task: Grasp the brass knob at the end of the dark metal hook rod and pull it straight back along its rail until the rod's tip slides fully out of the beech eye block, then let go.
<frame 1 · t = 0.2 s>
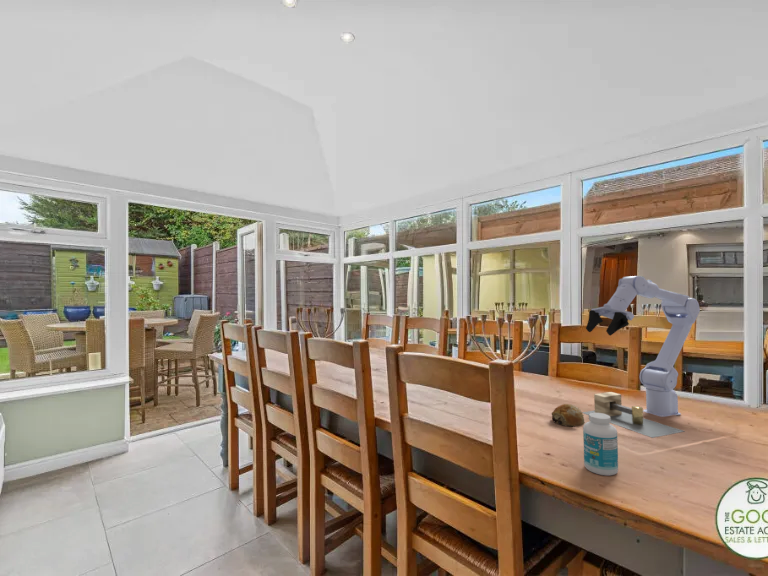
hand: (597, 331, 127), 31 cm above the table, tool tilted 45°, fingers open, 7 cm apart
bread roll: (568, 423, 129), on the table
pill bottle: (601, 470, 95), on the table
hook rod: (618, 409, 131), point 3 cm above the table, slide at 0.0 cm
eye block: (608, 414, 135), resting on base board
base board: (629, 422, 127), on the table
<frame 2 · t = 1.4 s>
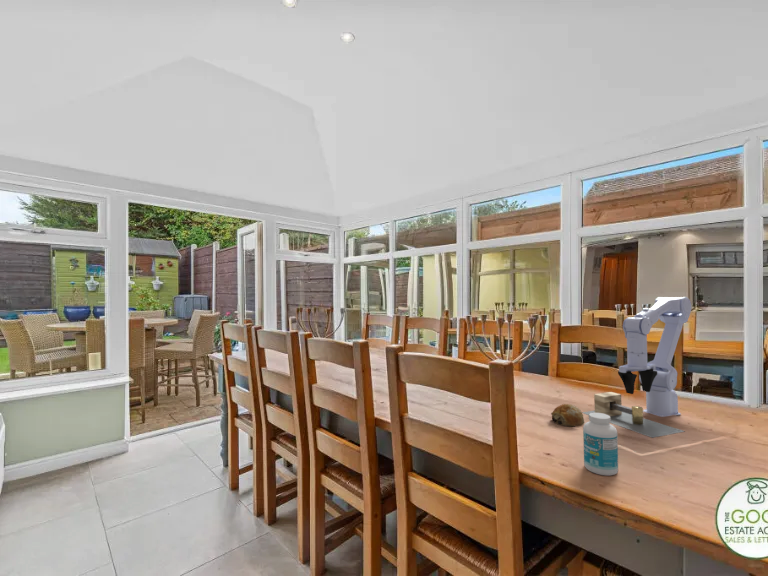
hand: (638, 392, 130), 9 cm above the table, tool pointing down, fingers open, 7 cm apart
nothing on the table moved.
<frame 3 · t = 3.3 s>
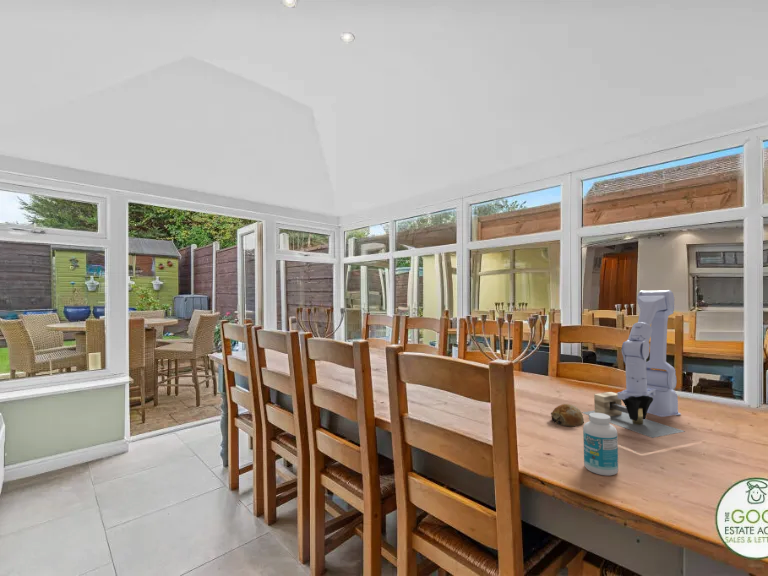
hand: (637, 419, 124), 2 cm above the table, tool pointing down, fingers closed on hook rod, 3 cm apart
hook rod: (618, 409, 131), point 4 cm above the table, slide at 0.0 cm, touching gripper
everything else where it was.
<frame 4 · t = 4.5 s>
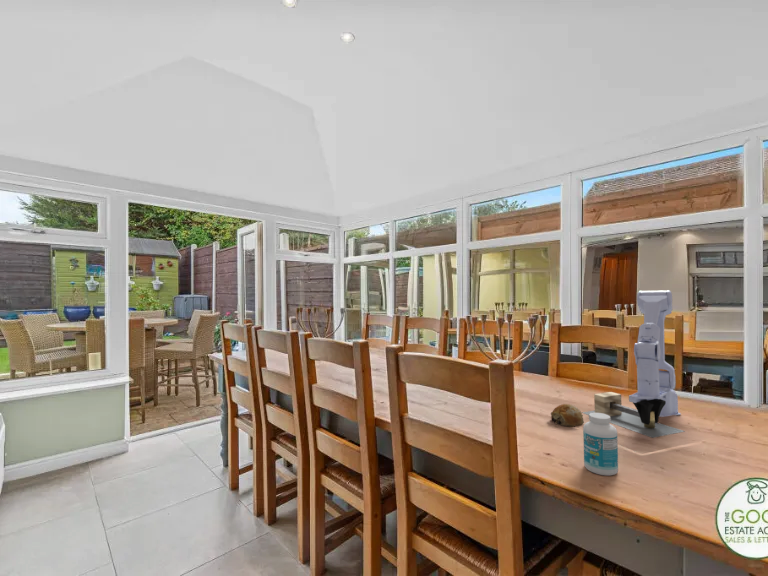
hand: (649, 422, 121), 2 cm above the table, tool pointing down, fingers closed on hook rod, 3 cm apart
hook rod: (629, 412, 127), point 3 cm above the table, slide at 3.9 cm, touching gripper
everything else where it was.
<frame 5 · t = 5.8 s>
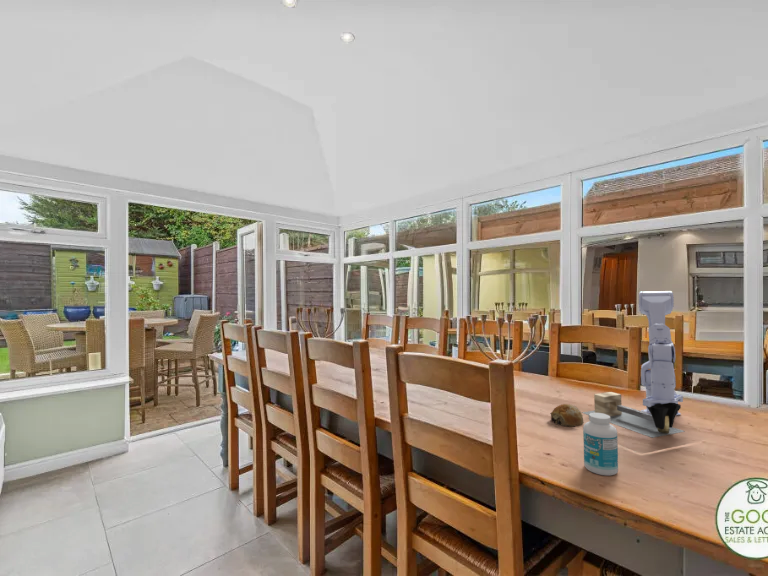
hand: (663, 427, 116), 2 cm above the table, tool pointing down, fingers closed on hook rod, 3 cm apart
hook rod: (642, 416, 123), point 4 cm above the table, slide at 8.3 cm, touching gripper
everything else where it was.
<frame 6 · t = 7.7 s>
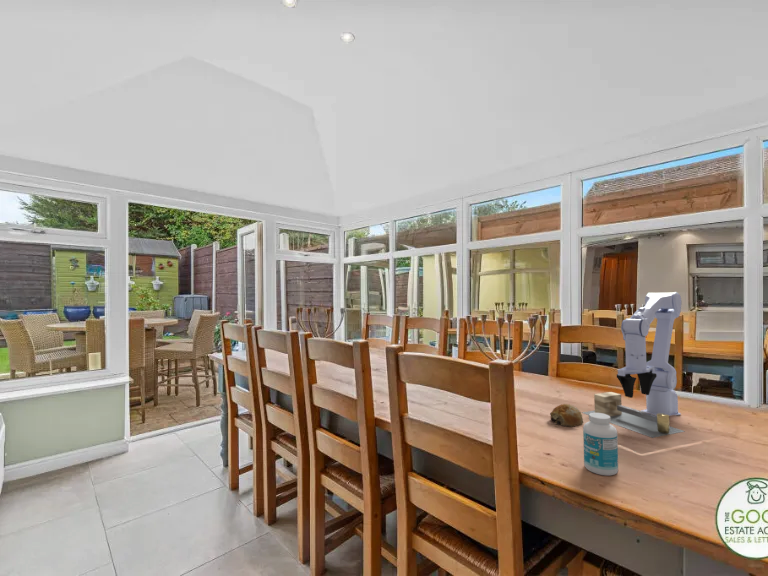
hand: (637, 395, 126), 9 cm above the table, tool pointing down, fingers open, 7 cm apart
hook rod: (642, 416, 123), point 4 cm above the table, slide at 8.3 cm
everything else where it was.
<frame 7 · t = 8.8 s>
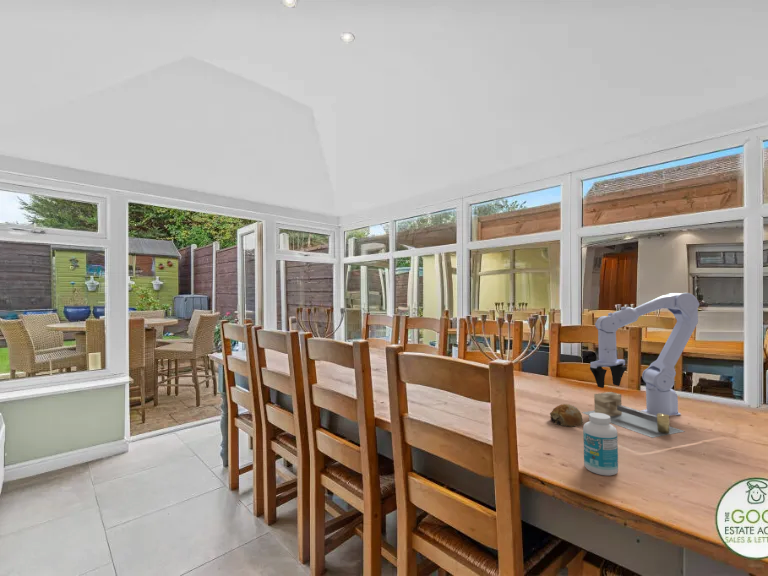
hand: (608, 386, 139), 9 cm above the table, tool pointing down, fingers open, 7 cm apart
nothing on the table moved.
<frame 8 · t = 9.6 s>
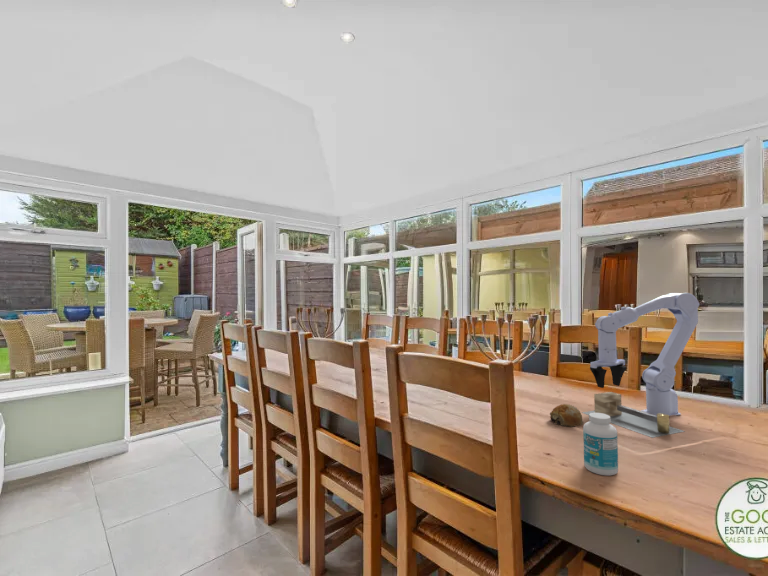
hand: (608, 386, 139), 9 cm above the table, tool pointing down, fingers open, 7 cm apart
nothing on the table moved.
at the end: hook rod slide at 8.3 cm; the gripper is holding nothing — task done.
